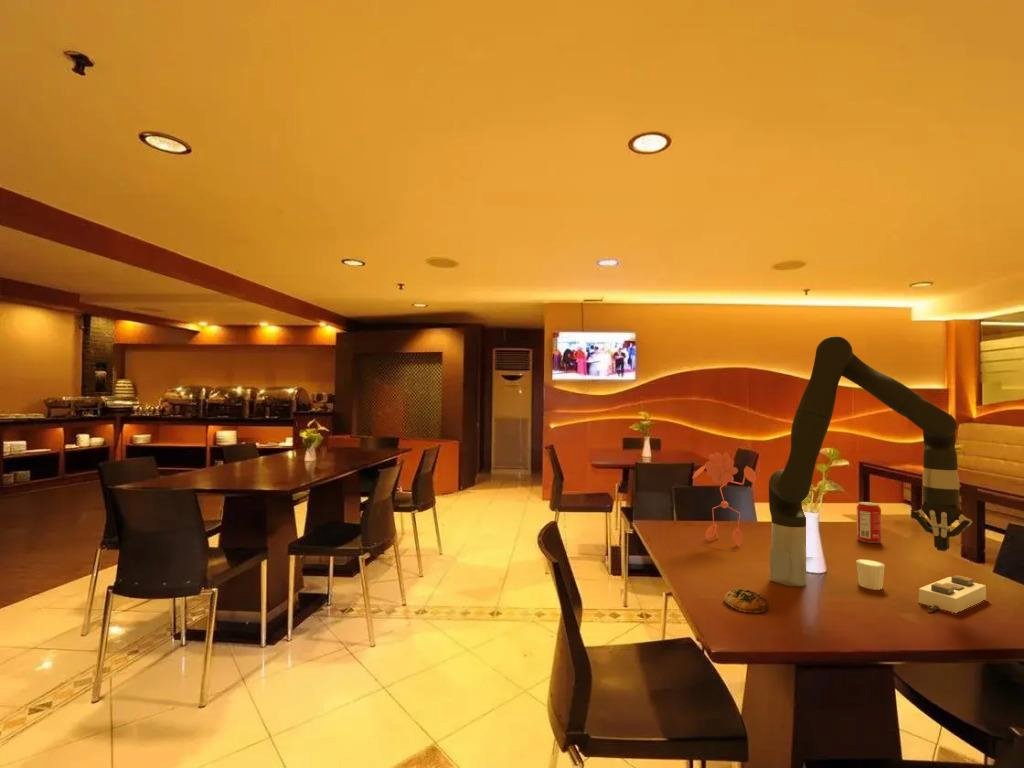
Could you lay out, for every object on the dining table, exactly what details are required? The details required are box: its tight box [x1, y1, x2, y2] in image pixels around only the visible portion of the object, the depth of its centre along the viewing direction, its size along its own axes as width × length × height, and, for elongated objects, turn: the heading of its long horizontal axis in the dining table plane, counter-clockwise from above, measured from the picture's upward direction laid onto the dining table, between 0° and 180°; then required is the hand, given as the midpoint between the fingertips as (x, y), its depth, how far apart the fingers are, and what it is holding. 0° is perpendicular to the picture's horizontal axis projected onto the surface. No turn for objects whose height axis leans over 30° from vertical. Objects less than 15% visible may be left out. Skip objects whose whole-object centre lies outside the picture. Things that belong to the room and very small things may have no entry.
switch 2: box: [951, 574, 974, 587], centre depth 141 cm, size 4×4×2 cm
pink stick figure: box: [691, 451, 757, 547], centre depth 191 cm, size 15×26×35 cm, turn 40°
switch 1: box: [931, 583, 954, 595], centre depth 135 cm, size 4×4×2 cm
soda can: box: [856, 501, 882, 544], centre depth 199 cm, size 8×8×15 cm
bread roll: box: [723, 588, 770, 614], centre depth 133 cm, size 11×11×5 cm
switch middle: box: [944, 583, 964, 591], centre depth 138 cm, size 4×4×2 cm
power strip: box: [918, 576, 987, 613], centre depth 137 cm, size 24×8×4 cm, turn 120°
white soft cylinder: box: [855, 558, 886, 591], centre depth 149 cm, size 7×7×7 cm
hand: (942, 550), depth 135 cm, fingers closed
